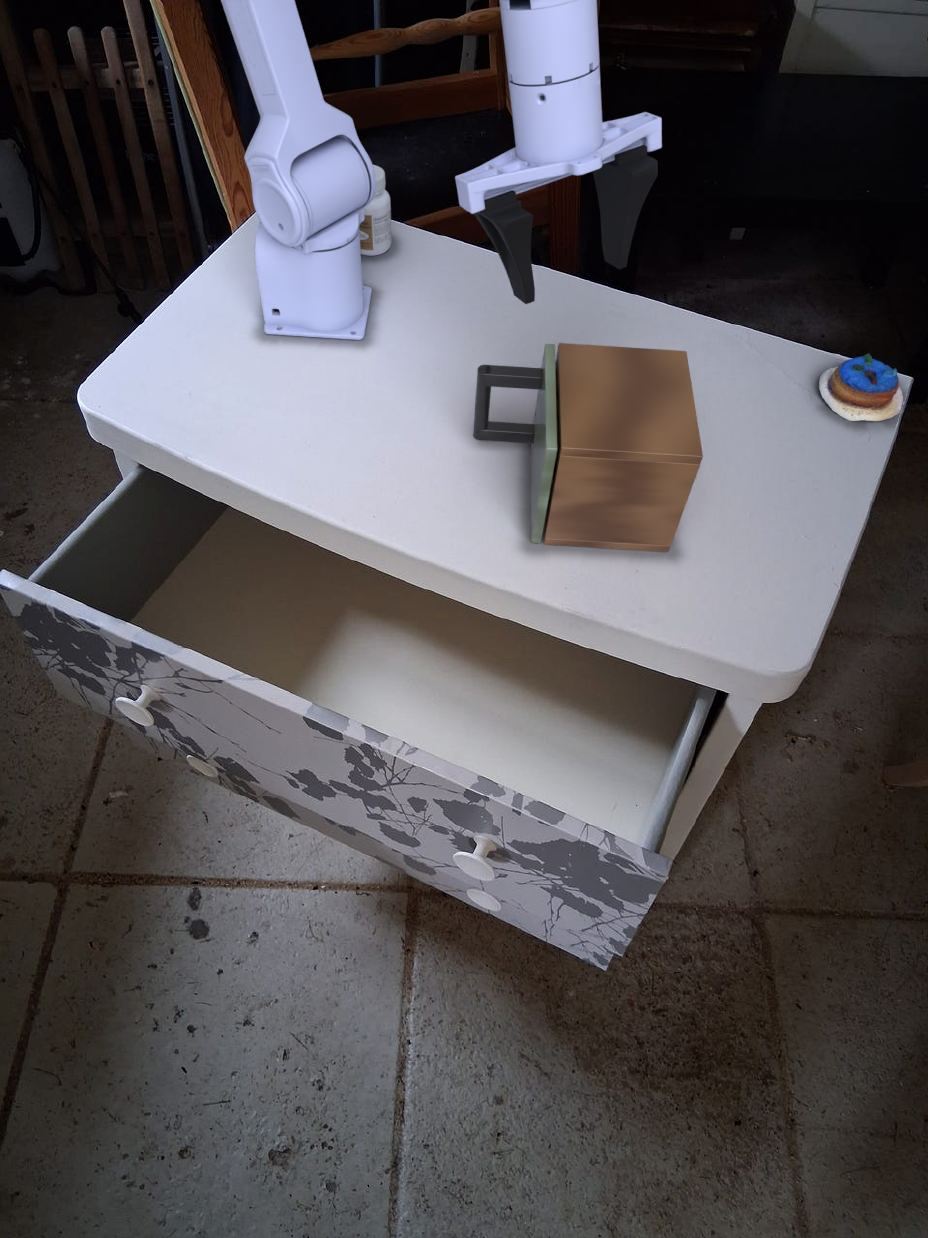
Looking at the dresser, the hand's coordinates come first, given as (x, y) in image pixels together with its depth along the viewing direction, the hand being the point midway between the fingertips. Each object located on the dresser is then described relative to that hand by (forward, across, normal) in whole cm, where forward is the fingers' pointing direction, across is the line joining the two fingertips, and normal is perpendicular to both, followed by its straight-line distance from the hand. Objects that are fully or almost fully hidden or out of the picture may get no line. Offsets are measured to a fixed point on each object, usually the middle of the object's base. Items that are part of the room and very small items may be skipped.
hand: (570, 280), depth 65 cm
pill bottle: (+7, -4, +36) cm, 37 cm away
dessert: (+22, +27, -3) cm, 35 cm away
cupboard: (+17, 0, -4) cm, 18 cm away
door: (+15, -8, 0) cm, 17 cm away
